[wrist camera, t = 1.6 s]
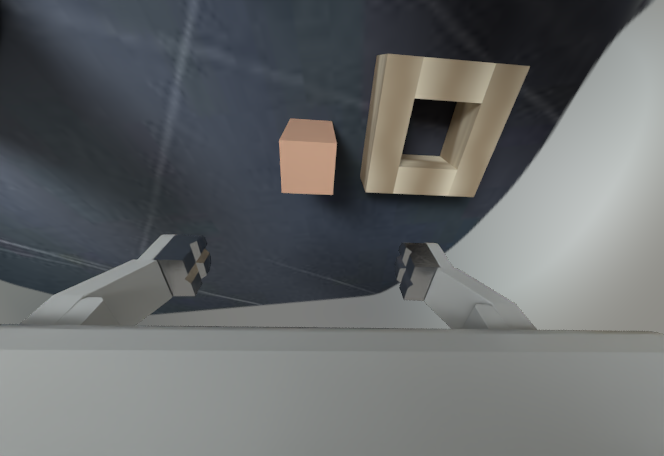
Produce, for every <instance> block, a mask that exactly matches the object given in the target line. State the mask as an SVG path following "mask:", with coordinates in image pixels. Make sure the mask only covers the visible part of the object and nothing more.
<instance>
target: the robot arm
mask: <svg viewBox="0 0 664 456" xmlns="http://www.w3.org/2000/svg"><path fill="white" fill-rule="evenodd" d="M206 246H207V242H206V239H205V237H203V236H196V235H176V234H163V235H161V236H160V237H159V238H158V239H157V240H156V241H155V242H154V243H153V244H152V245H151V246H150V247H149V248H148V249H147V250H146V251H145V252H144V253H143V254H142V255H141V256H140V258H139V259H138V260H131V261H129V262H126V263H124V264H122V265H120V266H118V267H115V268H113V269H111V270H109V271H106V272H104V273H102V274H100V275H97V276H95V277H93V278H91V279H89V280H86V281H84V282H82V283H80V284H77V285H75V286H73V287H71V288H68V289H66V290H64V291H62V292H60V293H57V294H55V295H53V296H52V297H51V298H50V299H48V300H47V301H46V302H45V303H44V304H42V305H41V306H40V307H39V308H38V309H37V310H35V311H34V312H33V313H32V314H31V315H29V316H28V317H27V318H26V319H25V320H24V321H22V322H21V323H20V324H0V456H664V334H662V333H658V332H651V331H593V330H591V331H590V330H537V329H536V328H535V327H534V325H533V324H532V323H531V322H530V320H529V319H528V318H527V317H526V316H525V314H524V313H523V312H522V311H521V309H520V308H519V307H518V306H517V304H515V303H514V302H512V301H510V300H509V299H507V298H506V297H504V296H502V295H500V294H499V293H497V292H496V291H494V290H492V289H491V288H489V287H487V286H486V285H484V284H483V283H481V282H479V281H478V280H476V279H474V278H473V277H471V276H469V275H468V274H466V273H465V272H463V271H461V270H460V269H458V268H454V267H453V266H452V264H451V263H450V261H449V260H448V258H447V257H446V255H445V254H444V252H443V251H442V249H441V248H440V246H439V245H438V244H437V243H401V244H400V246H399V250H398V251H399V253H400V255H399V256H398V257H397V258H396V261H395V276H396V279H397V280H398V281H399V282H400V283H401V284H400V290H401V293H402V296H403V299H404V300H418V301H424V302H425V303H426V304H427V305H428V306H429V307H430V308H431V309H432V310H433V311H434V312H435V313H436V314H437V315H438V316H439V317H440V318H441V319H442V320H443V321H444V322H445V323H446V324H447V325H448V326H449V327H450V328H451V329H398V328H316V327H219V326H216V327H215V326H135V325H137V324H138V323H139V322H141V321H142V320H143V319H145V318H146V317H147V316H149V315H150V314H151V313H152V312H154V311H155V310H156V309H158V308H159V307H160V306H162V305H163V304H164V303H166V302H167V301H168V300H170V299H171V298H172V296H195V295H196V294H197V292H198V290H199V288H200V287H201V285H202V280H201V279H202V278H203V277H205V276H206V275H207V274H208V272H209V270H210V266H211V256H210V253H209V252H208V251H207V250H206V249H205V247H206Z"/></svg>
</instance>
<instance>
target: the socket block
mask: <svg viewBox="0 0 664 456" xmlns="http://www.w3.org/2000/svg"><path fill="white" fill-rule="evenodd" d="M529 68H530V66H522V65H510V64H499V63H487V62H476V61H464V60H453V59H442V58H430V57H419V56H407V55H396V54H383V55H377V58H376V65H375V72H374V80H373V87H372V94H371V101H370V108H369V116H368V123H367V130H366V137H365V144H364V151H363V159H362V166H361V173H360V178H361V181H362V183H363V186H364V189H365V192H369V193H392V194H415V195H438V196H461V197H474V195H475V193H476V190H477V188H478V186H479V184H480V181H481V179H482V177H483V174H484V172H485V170H486V167H487V165H488V163H489V160H490V158H491V156H492V153H493V151H494V149H495V147H496V144H497V142H498V140H499V137H500V135H501V133H502V130H503V128H504V126H505V123H506V121H507V119H508V116H509V114H510V112H511V109H512V107H513V105H514V103H515V100H516V98H517V96H518V93H519V91H520V89H521V86H522V84H523V82H524V79H525V77H526V75H527V72H528V70H529ZM415 98H416V99H429V100H443V101H456V102H457V104H456V107H455V110H454V113H453V116H452V120H451V123H450V126H449V129H448V132H447V135H446V139H445V142H444V145H443V148H442V151H441V154H440V156H423V155H405V154H402V151H403V147H404V143H405V138H406V134H407V129H408V125H409V121H410V116H411V112H412V107H413V103H414V99H415Z"/></svg>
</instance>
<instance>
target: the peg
mask: <svg viewBox="0 0 664 456" xmlns="http://www.w3.org/2000/svg"><path fill="white" fill-rule="evenodd" d="M279 146H280V166H281V187H282V193H298V194H321V195H333V187H334V174H335V161H336V148H337V142H336V137H335V133H334V129H333V124H332V121H321V120H306V119H290V120H289V122H288V124H287V126H286V128H285V130H284V132H283V134H282V136H281V138H280V140H279Z"/></svg>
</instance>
